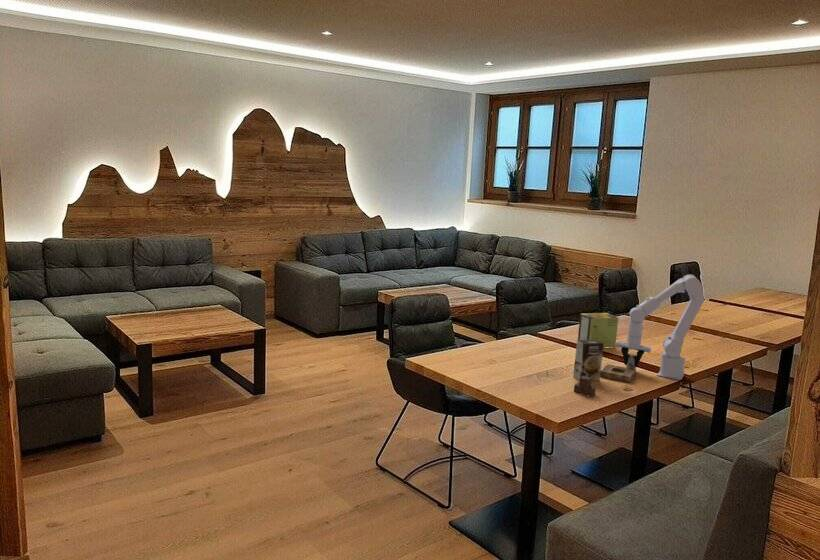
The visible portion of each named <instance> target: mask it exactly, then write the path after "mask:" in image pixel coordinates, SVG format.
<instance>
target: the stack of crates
mask: <svg viewBox="0 0 820 560" xmlns="http://www.w3.org/2000/svg"><path fill="white" fill-rule="evenodd" d="M578 381H579V380H578ZM592 382H593V381H592V378H591V377H587V376H582V377H580V381H579V382H577V383H576V384H574V388H573V392H574V393H577V394H580V393H581V394H582V393H583V394H582V395H584V394H585V396H587V395H589V396H588V397H593V396H594V394H595V395H596V389H597V388H596V387H595V386H592ZM592 395H593V396H592Z"/></svg>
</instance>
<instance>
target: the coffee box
mask: <svg viewBox="0 0 820 560" xmlns="http://www.w3.org/2000/svg"><path fill="white" fill-rule="evenodd" d="M603 345H604V343H602V342H600V341H597V340H578V339H577V341H576V349H575V357H574V366H573V374H572V375H573V376H572V377H573V378H575V379H576V380H578V381H580V377H582V376H587V377H591V378H592V380H593V381H592V382H594V380H599V381H600V379H601V377H600V372H601V370H602V361H603V353H604V349H603Z"/></svg>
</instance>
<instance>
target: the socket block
mask: <svg viewBox="0 0 820 560" xmlns="http://www.w3.org/2000/svg"><path fill="white" fill-rule="evenodd" d="M636 372H637V369H636V370H635V369H630V368H626V366H625V367H624V366H618V365H614V364H610V363H609V364H608V363H607V364H606V365H605V366H604V367H603V368H601V372H600V378H603V377H605V378H604V379H608V378H610V379H609V380H613V379H615V380H614V381H618V380H619V381H620V382H624V383H631V382H632V380H633V379H634V378H635V377H636ZM619 381H618V382H619Z"/></svg>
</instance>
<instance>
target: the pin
mask: <svg viewBox="0 0 820 560" xmlns="http://www.w3.org/2000/svg"><path fill="white" fill-rule="evenodd" d="M636 359H637V354H633V353H628V355H627V364H626V365H625V368H630V369H635V370H636V371H637V367H635V365H636Z"/></svg>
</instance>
